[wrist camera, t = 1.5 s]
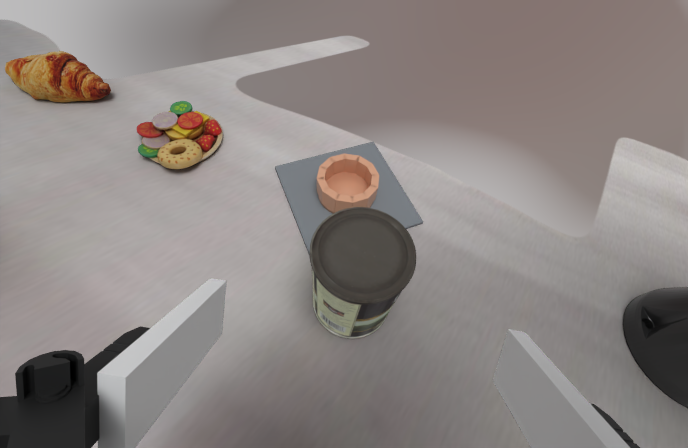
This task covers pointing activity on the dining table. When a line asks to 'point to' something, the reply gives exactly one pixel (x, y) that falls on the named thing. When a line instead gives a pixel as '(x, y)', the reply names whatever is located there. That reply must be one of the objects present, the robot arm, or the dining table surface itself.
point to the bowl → (347, 182)
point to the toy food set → (179, 137)
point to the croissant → (56, 78)
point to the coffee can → (359, 269)
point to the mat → (305, 200)
